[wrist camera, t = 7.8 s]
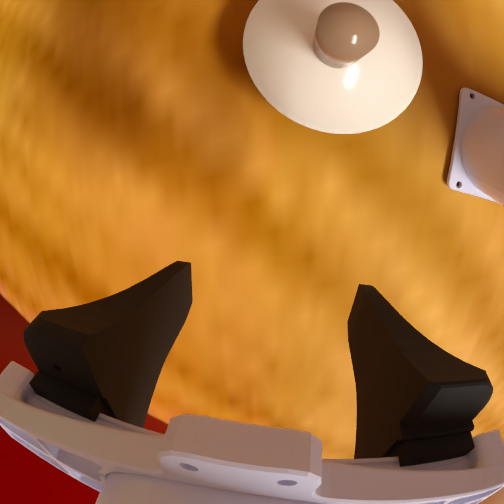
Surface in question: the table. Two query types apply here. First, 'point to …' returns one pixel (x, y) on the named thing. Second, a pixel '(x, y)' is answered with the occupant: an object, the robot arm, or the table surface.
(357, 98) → the lid
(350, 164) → the table surface
